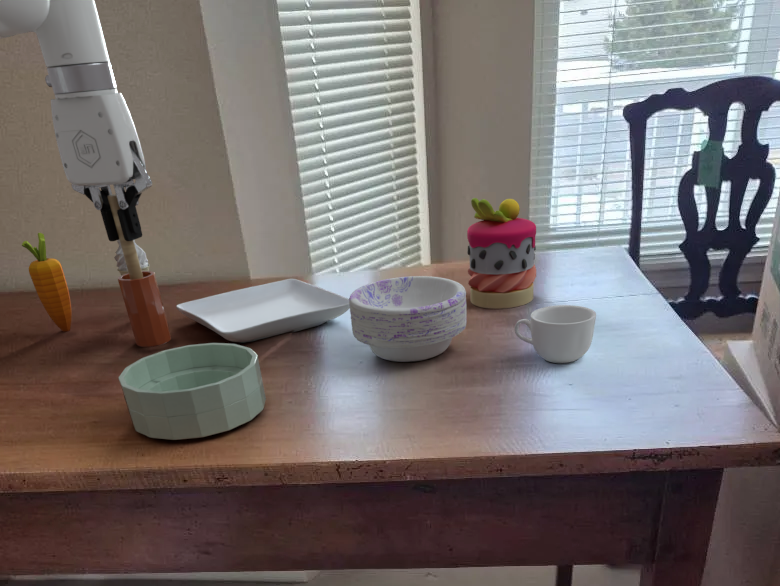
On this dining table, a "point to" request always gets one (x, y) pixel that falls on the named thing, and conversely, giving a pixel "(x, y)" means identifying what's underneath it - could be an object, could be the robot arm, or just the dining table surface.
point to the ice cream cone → (122, 263)
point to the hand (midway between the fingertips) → (125, 238)
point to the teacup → (560, 332)
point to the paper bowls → (408, 316)
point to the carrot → (50, 285)
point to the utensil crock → (145, 309)
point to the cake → (501, 256)
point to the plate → (266, 310)
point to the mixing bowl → (193, 390)
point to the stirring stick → (126, 243)
